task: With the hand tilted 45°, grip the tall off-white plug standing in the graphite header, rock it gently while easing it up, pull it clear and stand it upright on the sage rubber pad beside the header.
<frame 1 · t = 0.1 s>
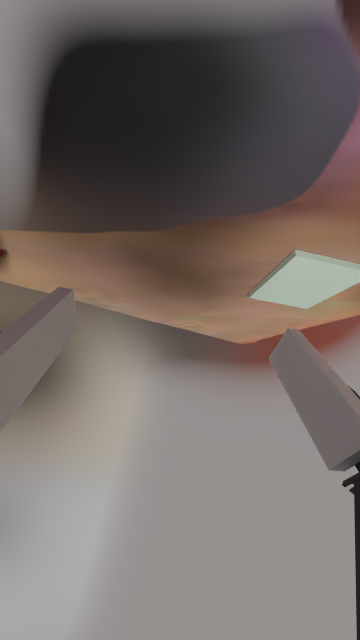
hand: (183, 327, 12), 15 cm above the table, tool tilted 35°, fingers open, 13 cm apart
pad: (301, 282, 31), on the table
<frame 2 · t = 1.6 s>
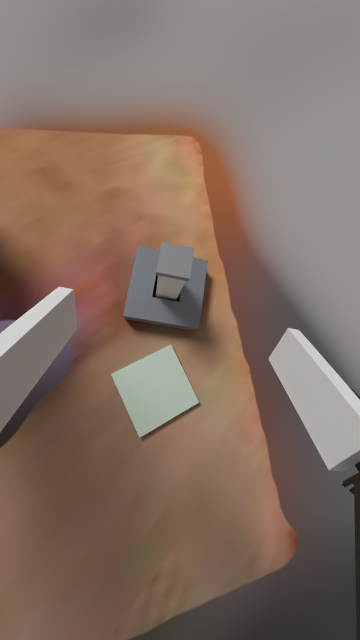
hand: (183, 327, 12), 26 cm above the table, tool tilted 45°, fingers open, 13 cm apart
pad: (155, 387, 36), on the table
header: (166, 292, 40), on the table
plug: (170, 279, 33), in the header
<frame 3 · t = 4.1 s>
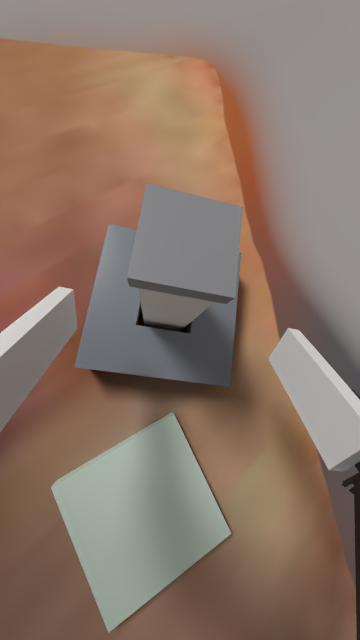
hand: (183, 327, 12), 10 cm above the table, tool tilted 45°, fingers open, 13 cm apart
pad: (145, 503, 18), on the table
header: (164, 311, 22), on the table
plug: (171, 291, 15), in the header
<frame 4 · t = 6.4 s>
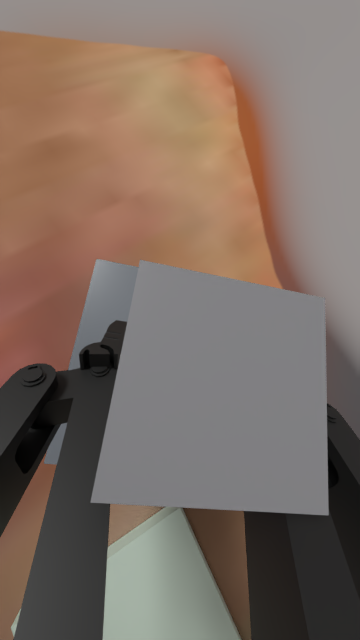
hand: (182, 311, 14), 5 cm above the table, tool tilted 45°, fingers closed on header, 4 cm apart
pad: (140, 633, 14), on the table
header: (168, 362, 18), on the table
plug: (179, 366, 11), in the header
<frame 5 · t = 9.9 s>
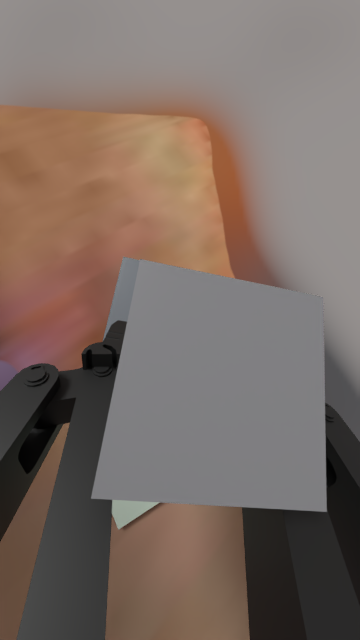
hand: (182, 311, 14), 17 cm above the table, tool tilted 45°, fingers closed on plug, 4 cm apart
pad: (144, 451, 27), on the table
header: (161, 318, 30), on the table
plug: (179, 365, 11), point 19 cm above the table, touching gripper
when the fingers open (7 cm above the table, at t = 13.1 s): plug stays where it is, resting on pad.
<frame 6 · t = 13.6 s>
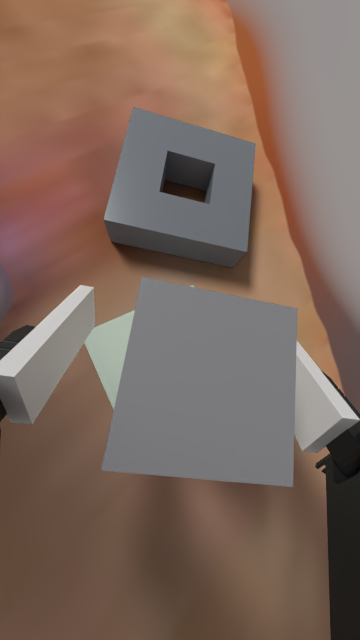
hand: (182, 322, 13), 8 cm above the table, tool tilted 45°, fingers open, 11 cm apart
pad: (166, 362, 20), on the table
header: (182, 203, 23), on the table
plug: (176, 365, 12), on the pad, point 8 cm above the table
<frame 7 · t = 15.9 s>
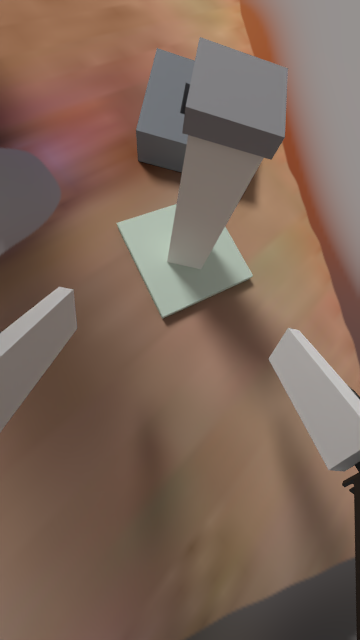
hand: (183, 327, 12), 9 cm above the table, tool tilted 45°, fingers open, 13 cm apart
pad: (185, 254, 24), on the table
header: (196, 135, 28), on the table
plug: (202, 203, 16), on the pad, point 8 cm above the table
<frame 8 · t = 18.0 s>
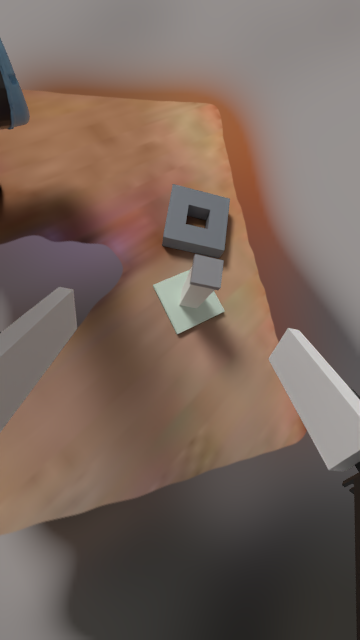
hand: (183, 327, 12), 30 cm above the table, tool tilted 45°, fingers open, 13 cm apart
pad: (188, 299, 44), on the table
header: (194, 226, 48), on the table
plug: (196, 287, 36), on the pad, point 8 cm above the table
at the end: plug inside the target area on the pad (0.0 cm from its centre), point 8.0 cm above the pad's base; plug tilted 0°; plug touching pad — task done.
